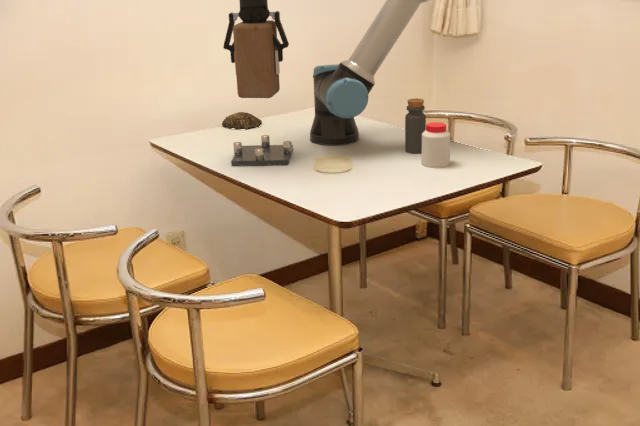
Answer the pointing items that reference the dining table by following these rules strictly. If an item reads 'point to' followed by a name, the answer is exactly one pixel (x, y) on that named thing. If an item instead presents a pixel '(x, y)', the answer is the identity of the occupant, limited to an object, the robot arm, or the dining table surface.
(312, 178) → the dining table surface
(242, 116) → the brown rounded lump
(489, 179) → the dining table surface
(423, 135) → the pill bottle
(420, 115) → the bottle
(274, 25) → the wooden block
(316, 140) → the robot arm
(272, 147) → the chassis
